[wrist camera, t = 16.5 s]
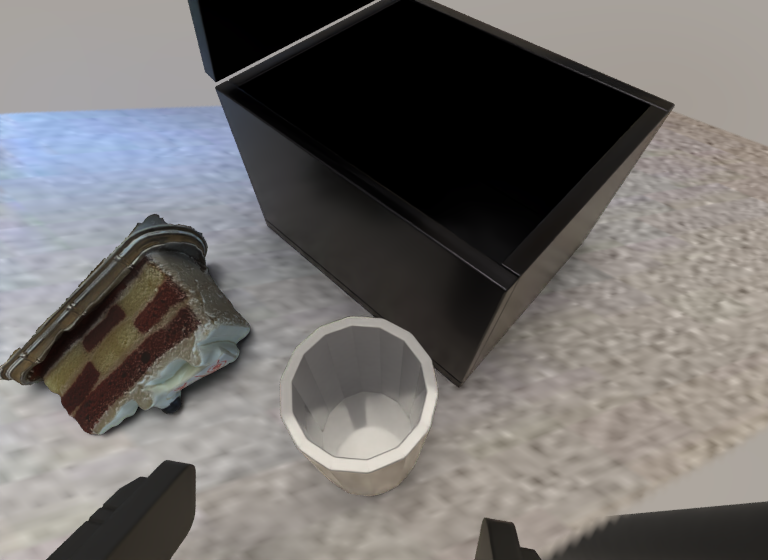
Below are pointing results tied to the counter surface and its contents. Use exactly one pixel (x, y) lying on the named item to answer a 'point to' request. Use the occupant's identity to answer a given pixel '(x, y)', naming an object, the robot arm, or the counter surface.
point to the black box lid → (257, 28)
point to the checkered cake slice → (134, 330)
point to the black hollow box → (435, 165)
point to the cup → (359, 402)
